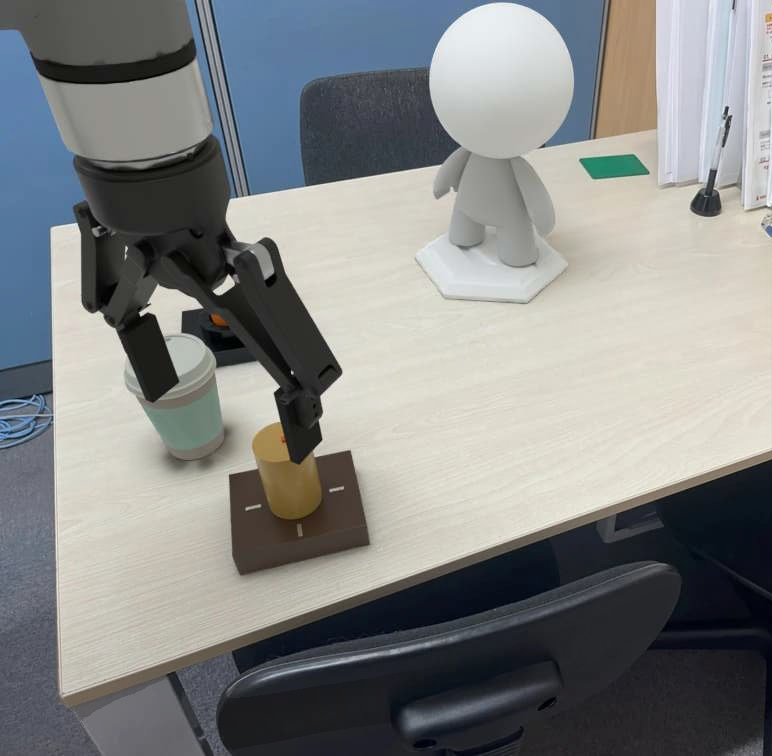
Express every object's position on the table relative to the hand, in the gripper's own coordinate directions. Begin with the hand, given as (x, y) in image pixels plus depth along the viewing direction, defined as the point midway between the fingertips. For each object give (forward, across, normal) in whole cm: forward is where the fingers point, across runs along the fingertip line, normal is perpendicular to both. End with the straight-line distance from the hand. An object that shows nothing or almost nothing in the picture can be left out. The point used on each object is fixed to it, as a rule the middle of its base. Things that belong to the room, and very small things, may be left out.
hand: (232, 420), depth 53 cm
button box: (+20, +27, -25) cm, 41 cm away
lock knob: (+16, +2, -6) cm, 18 cm away
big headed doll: (+20, +6, -57) cm, 60 cm away
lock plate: (+20, +2, -6) cm, 20 cm away
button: (+16, +27, -25) cm, 40 cm away
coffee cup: (+20, +19, -9) cm, 29 cm away
